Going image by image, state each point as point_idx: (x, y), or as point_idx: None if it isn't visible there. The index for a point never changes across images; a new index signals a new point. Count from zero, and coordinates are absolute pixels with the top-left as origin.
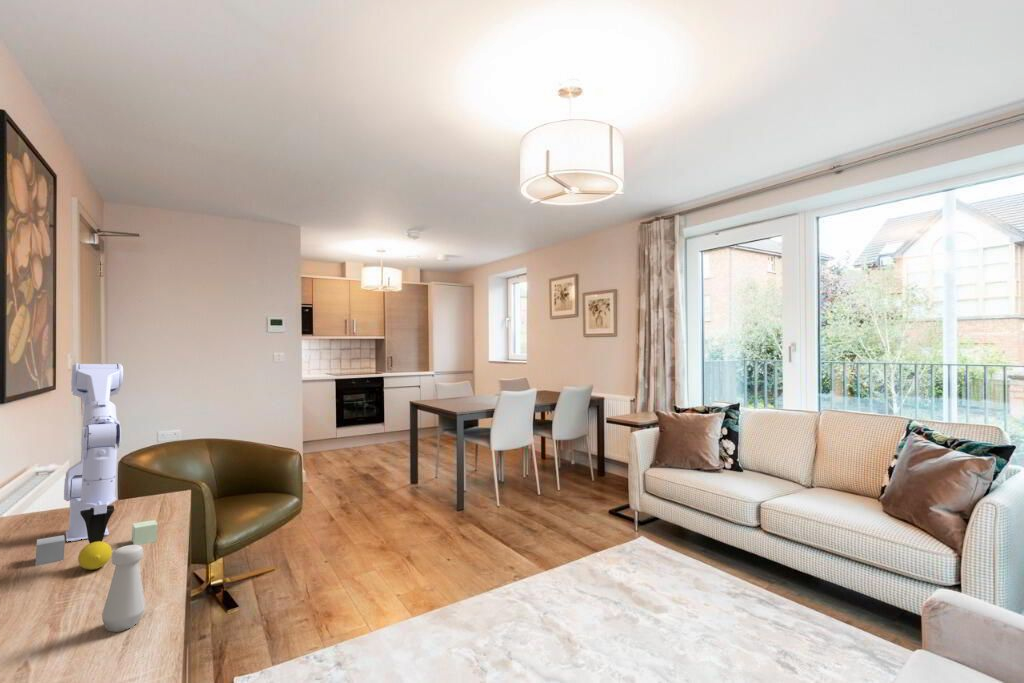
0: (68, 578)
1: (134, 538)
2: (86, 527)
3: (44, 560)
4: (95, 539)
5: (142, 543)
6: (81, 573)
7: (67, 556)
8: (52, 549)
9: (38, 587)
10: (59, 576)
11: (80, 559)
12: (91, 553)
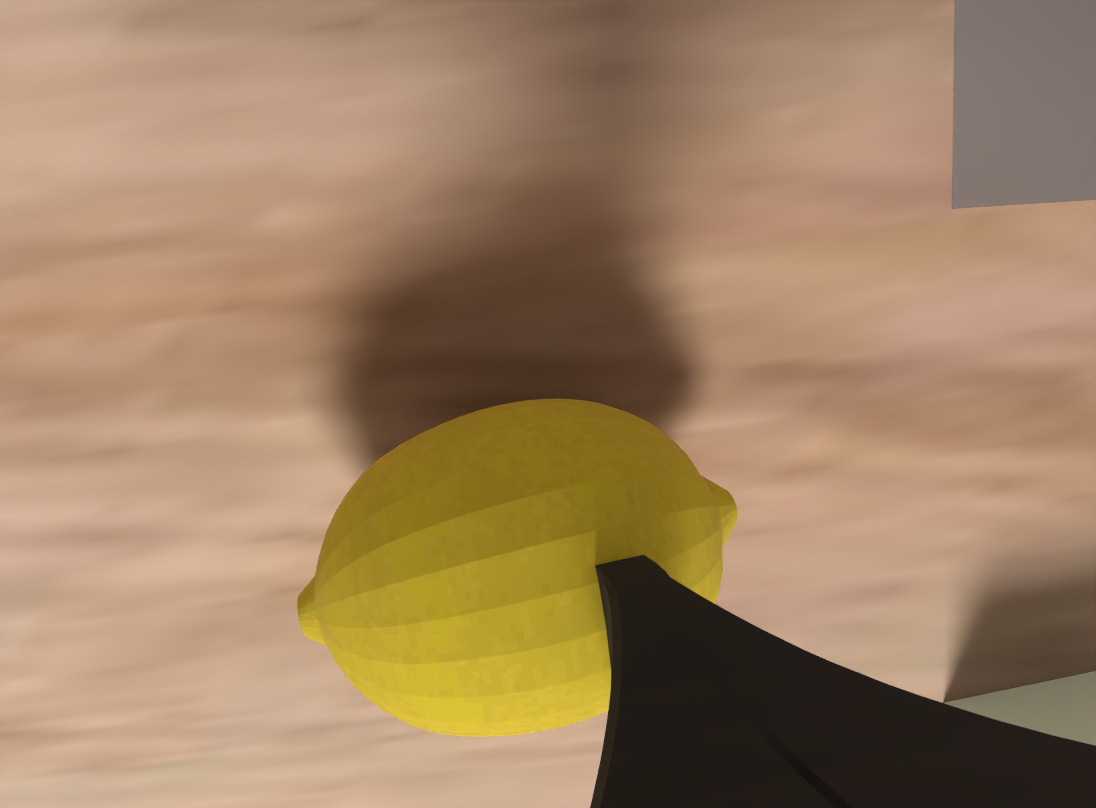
0: (349, 327)
1: None
2: (766, 661)
3: (984, 36)
4: (612, 652)
5: None
6: (437, 414)
7: (1053, 226)
8: (1078, 77)
9: (211, 101)
10: (458, 242)
11: (409, 446)
12: (332, 588)
